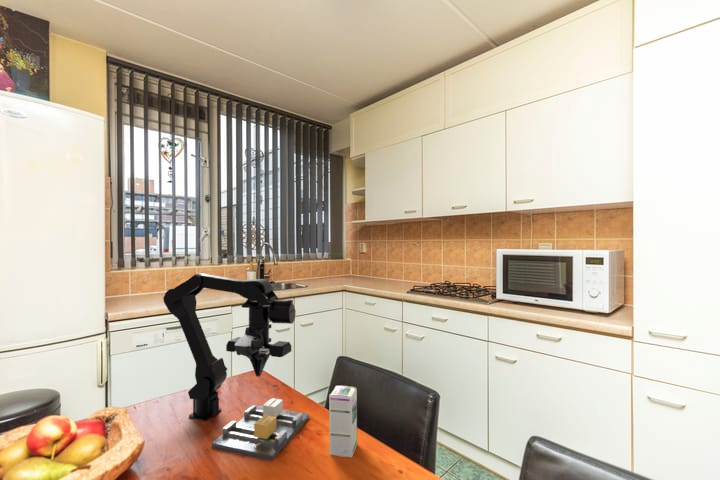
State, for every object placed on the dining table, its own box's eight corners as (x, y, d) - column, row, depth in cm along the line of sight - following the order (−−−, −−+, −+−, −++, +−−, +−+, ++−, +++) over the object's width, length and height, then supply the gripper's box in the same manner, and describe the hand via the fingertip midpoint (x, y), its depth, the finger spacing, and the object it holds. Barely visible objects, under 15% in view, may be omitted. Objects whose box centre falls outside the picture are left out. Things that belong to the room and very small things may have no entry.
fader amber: (254, 441, 82) (254, 423, 82) (264, 432, 86) (264, 414, 86) (266, 444, 81) (266, 425, 81) (276, 434, 85) (276, 416, 85)
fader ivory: (263, 421, 91) (263, 404, 92) (271, 413, 96) (271, 397, 96) (274, 423, 90) (274, 406, 91) (282, 415, 95) (282, 399, 95)
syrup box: (352, 458, 78) (352, 396, 78) (328, 455, 79) (328, 394, 79) (357, 444, 83) (357, 386, 84) (335, 441, 85) (335, 384, 85)
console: (211, 447, 82) (211, 435, 82) (258, 409, 101) (258, 399, 101) (271, 460, 77) (272, 447, 77) (309, 418, 96) (309, 407, 96)
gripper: (213, 326, 92) (212, 383, 91) (272, 331, 86) (271, 391, 86) (238, 318, 102) (238, 368, 102) (292, 322, 97) (292, 375, 97)
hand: (258, 376), depth 96 cm, fingers closed
